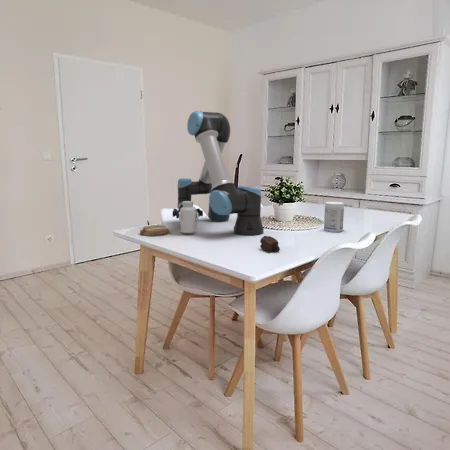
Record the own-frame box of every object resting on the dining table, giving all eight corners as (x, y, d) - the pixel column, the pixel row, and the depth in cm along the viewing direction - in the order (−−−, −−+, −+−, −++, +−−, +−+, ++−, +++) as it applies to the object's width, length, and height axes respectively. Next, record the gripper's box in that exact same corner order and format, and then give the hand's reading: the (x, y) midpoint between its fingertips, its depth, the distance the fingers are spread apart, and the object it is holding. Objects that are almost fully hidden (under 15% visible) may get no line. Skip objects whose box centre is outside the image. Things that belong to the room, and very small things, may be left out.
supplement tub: (335, 228, 200) (337, 201, 197) (346, 231, 191) (348, 203, 188) (319, 229, 196) (321, 201, 194) (330, 233, 188) (332, 204, 185)
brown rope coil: (174, 233, 184) (174, 227, 183) (150, 237, 174) (150, 231, 173) (158, 229, 193) (158, 223, 193) (134, 233, 184) (134, 227, 183)
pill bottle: (190, 233, 177) (188, 202, 175) (177, 232, 182) (175, 202, 179) (200, 231, 184) (199, 201, 181) (187, 229, 188) (186, 200, 186)
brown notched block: (282, 240, 149) (266, 231, 156) (270, 248, 146) (254, 239, 154) (285, 251, 152) (269, 242, 160) (273, 260, 150) (257, 250, 157)
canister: (229, 222, 216) (232, 194, 209) (207, 220, 215) (210, 192, 208) (229, 214, 228) (232, 187, 221) (207, 212, 227) (210, 185, 220)
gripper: (204, 215, 202) (210, 223, 180) (166, 216, 199) (167, 224, 177) (204, 202, 201) (210, 208, 179) (166, 202, 197) (167, 209, 175)
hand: (188, 216), depth 178 cm, fingers closed on pill bottle, 8 cm apart
